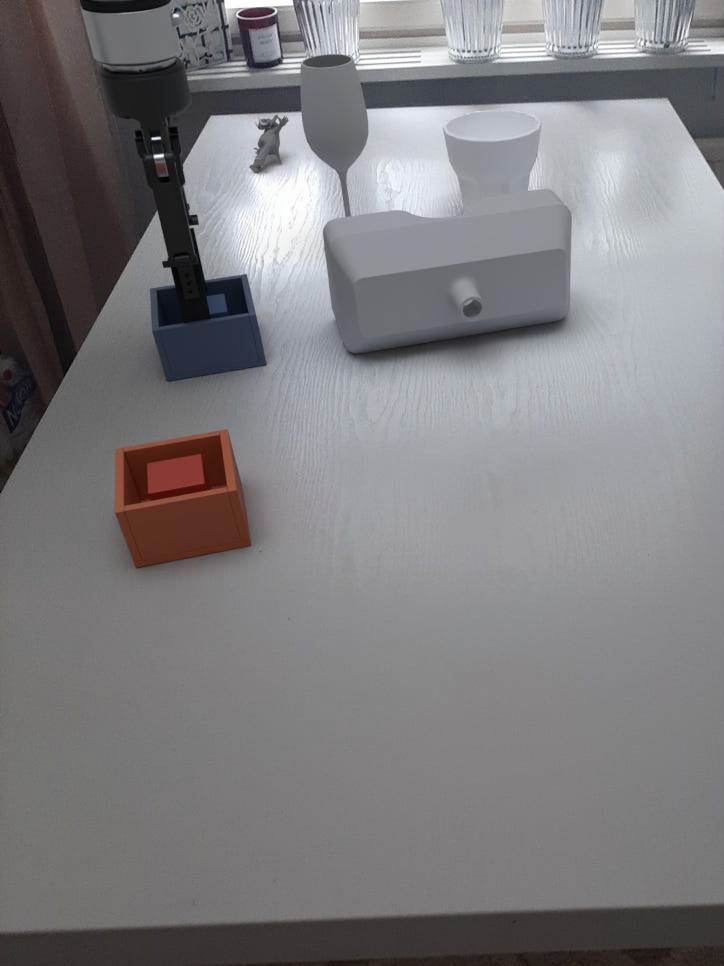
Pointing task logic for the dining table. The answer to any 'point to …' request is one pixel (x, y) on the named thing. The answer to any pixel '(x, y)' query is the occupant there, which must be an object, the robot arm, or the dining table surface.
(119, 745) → the dining table surface
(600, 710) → the dining table surface
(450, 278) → the tank
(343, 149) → the wineglass
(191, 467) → the red block
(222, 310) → the blue block
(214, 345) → the slate bin
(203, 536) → the terracotta bin
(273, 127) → the elephant figurine
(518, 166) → the cup
